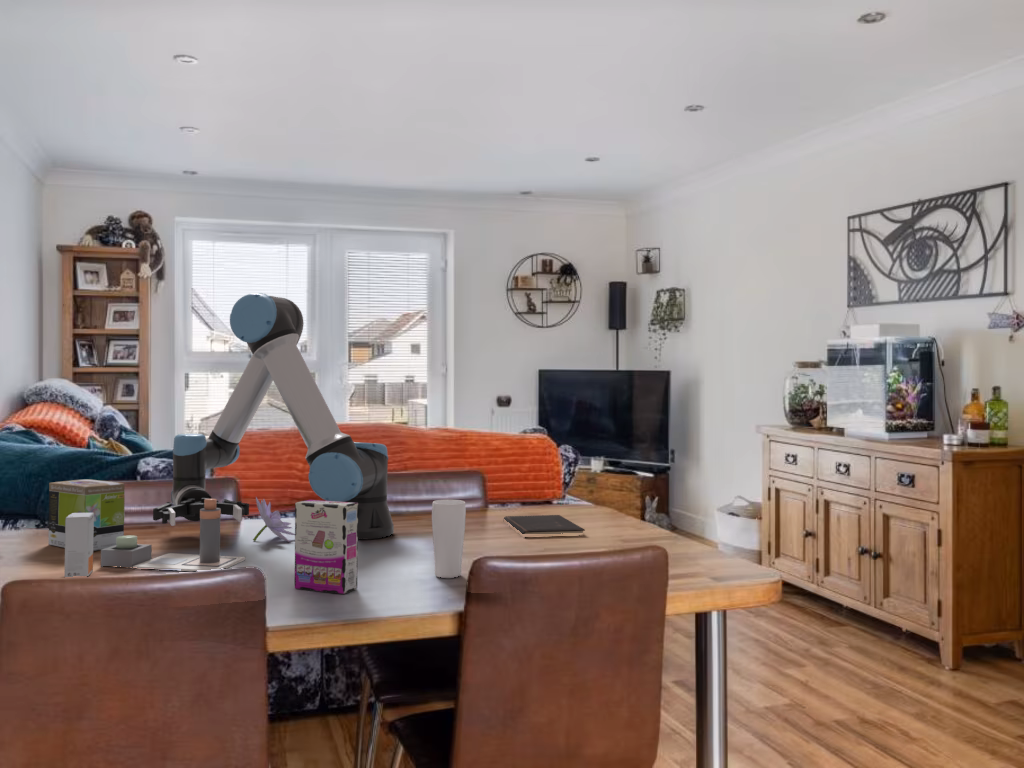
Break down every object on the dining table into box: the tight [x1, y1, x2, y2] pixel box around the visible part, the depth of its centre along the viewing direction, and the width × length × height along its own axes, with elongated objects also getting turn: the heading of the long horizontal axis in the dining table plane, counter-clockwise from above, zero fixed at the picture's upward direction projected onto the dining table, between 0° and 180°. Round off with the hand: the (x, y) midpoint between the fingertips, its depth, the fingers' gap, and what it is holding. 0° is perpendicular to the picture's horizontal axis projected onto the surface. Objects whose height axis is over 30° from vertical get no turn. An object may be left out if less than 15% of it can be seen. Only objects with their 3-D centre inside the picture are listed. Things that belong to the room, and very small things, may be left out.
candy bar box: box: [294, 499, 359, 595], centre depth 162 cm, size 11×5×16 cm, turn 69°
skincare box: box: [63, 513, 94, 577], centre depth 170 cm, size 6×4×12 cm
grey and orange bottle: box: [199, 498, 222, 563], centre depth 181 cm, size 4×4×13 cm
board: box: [133, 552, 246, 571], centre depth 181 cm, size 18×13×1 cm
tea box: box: [48, 478, 125, 552], centre depth 198 cm, size 15×10×15 cm, turn 57°
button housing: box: [100, 543, 153, 568], centre depth 180 cm, size 7×7×4 cm
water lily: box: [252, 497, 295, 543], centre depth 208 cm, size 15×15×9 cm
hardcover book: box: [503, 514, 586, 534], centre depth 228 cm, size 16×23×2 cm
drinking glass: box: [431, 499, 467, 579], centre depth 174 cm, size 7×7×15 cm
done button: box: [116, 534, 138, 549], centre depth 180 cm, size 4×4×2 cm
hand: (207, 517), depth 185 cm, fingers open, 13 cm apart
